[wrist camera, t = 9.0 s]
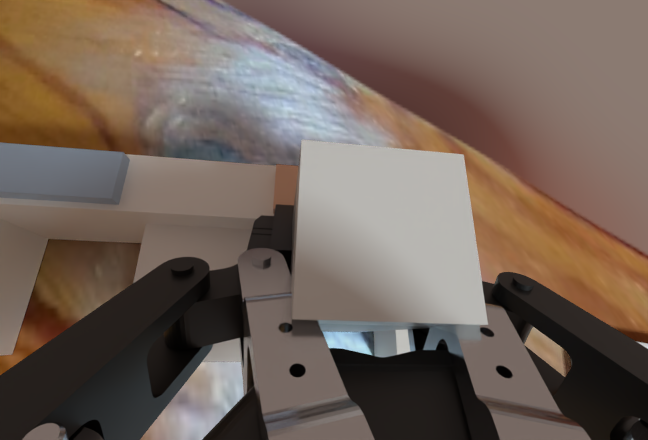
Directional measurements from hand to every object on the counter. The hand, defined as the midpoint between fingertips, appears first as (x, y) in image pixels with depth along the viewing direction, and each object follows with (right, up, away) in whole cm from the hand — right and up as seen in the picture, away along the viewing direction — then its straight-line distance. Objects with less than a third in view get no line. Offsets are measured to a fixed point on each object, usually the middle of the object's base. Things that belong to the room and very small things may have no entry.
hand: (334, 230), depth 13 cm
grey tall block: (-1, -3, +4) cm, 5 cm away
